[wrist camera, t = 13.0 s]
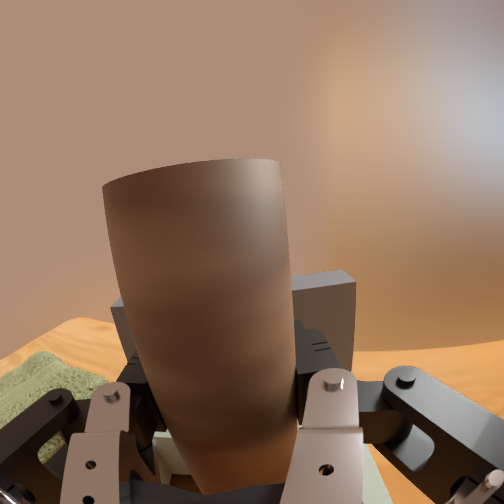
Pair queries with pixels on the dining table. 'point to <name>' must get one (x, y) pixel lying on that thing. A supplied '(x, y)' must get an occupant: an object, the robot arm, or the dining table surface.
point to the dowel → (212, 312)
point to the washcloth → (43, 390)
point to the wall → (298, 312)
